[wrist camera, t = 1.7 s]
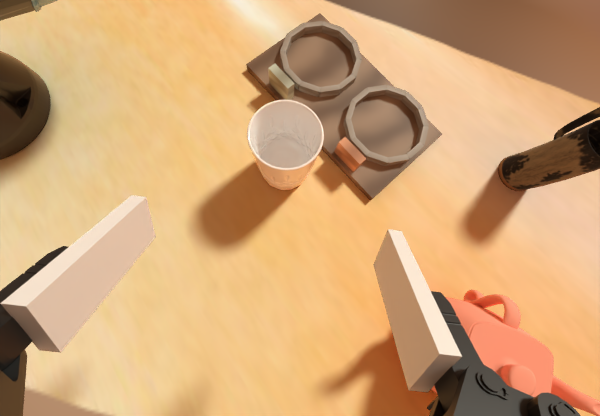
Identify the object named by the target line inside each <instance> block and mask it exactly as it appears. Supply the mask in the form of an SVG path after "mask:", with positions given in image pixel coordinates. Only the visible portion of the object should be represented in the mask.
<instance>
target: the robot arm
mask: <svg viewBox="0 0 600 416" xmlns="http://www.w3.org/2000/svg"><path fill="white" fill-rule="evenodd" d="M55 1H57V0H0V21H1V20H4V19H7V18H11V17H14V16H17V15H21V14H24V13H27V12H31V11H34V10H35V11H36V12H37V11H39V10H41V7H42V6H44V5H47V4H50V3H52V2H55ZM49 111H50V95H49V91H48V89H47V86H46V84H45V83H44V81H43V80H42V79H41V77H40V76H39V75H38V74H37V73H35V72H34V71H33V70H31V69H30V68H29V67H27V66H26V65H25V64H23V63H22V62H21V61H19V60H18V59H16V58H14V57H12V56H11V55H9V54H6V53H4V52H2V51H0V159H2V158H5V157H7V156H10V155H12V154H14V153H16V152H18V151H19V150H21V149H23V148H24V147H25V146H27V145H28V144H29V143H30V142H31V141H33V140H34V139H35V138H36V136H37V135H38V134H39V133H40V131H41V130H42V128H43V127H44V125H45V123H46V121H47V118H48V115H49ZM155 237H156V236H155V232H154V227H153V223H152V219H151V215H150V210H149V206H148V202H147V198H146V197H142V196H134V195H131V196H130V197H129V198H128V199H126V200H125V201H124V202H123V203H122V204H120V205H119V206H118V207H117V208H116V209H114V210H113V211H112V212H111V213H109V214H108V215H107V216H106V217H105V218H103V219H102V220H101V221H100V222H99V223H97V224H96V225H95V226H94V227H92V228H91V229H90V230H89V231H88V232H86V233H85V234H84V235H83V236H82V237H80V238H79V239H78V240H77V241H75V242H74V243H73V244H72V245H71V246H69V247H66V246H63V247H60V248H58V249H56V250H54V251H52V252H50V253H48V254H47V255H46V256H44V257H43V258H42V259H41V260H39V261H38V262H37V263H35V266H32V267H30V268H29V269H28V270H27V271H25V274H21V275H20V276H19V277H18V278H16V279H15V280H14V281H12V282H11V283H10V284H9V285H7V286H6V287H5V288H4V289H2V290H1V291H0V416H23V404H24V391H25V377H26V364H27V354H26V351H25V348H26V347H27V346H28V345H29V344H30V343H31V342H33V343H34V344H35V345H36V347H37V348H38V349H39V350H43V351H52V352H62V351H63V349H64V348H65V347H66V346H67V344H68V343H69V342H70V341H71V340H72V338H73V337H74V336H75V335H76V333H77V332H78V331H79V330H80V329H81V327H82V326H83V325H84V324H85V322H86V321H87V320H88V319H89V318H90V316H91V315H92V314H93V313H94V312H95V310H96V309H97V308H98V307H99V305H100V304H101V303H102V302H103V301H104V299H105V298H106V297H107V296H108V294H109V293H110V292H111V291H112V290H113V288H114V287H115V286H116V285H117V284H118V282H119V281H120V280H121V279H122V277H123V276H124V275H125V274H126V273H127V271H128V270H129V269H130V268H131V266H132V265H133V264H134V263H135V262H136V260H137V259H138V258H139V257H140V256H141V254H142V253H143V252H144V251H145V249H146V248H147V247H148V246H149V245H150V243H151V242H152V241H153V240H154V238H155ZM373 265H374V269H375V272H376V276H377V279H378V283H379V287H380V290H381V294H382V297H383V301H384V304H385V308H386V312H387V315H388V319H389V322H390V326H391V329H392V333H393V337H394V340H395V344H396V347H397V351H398V355H399V358H400V362H401V365H402V369H403V372H404V376H405V380H406V383H407V387H408V390H410V391H419V392H429V391H430V390H431V389H432V387H433V386H435V388H436V391H437V394H438V397H437V398H436V399H434V400H433V401H432V402H431V403H430V404H429V406H428V407H427V409H428V410H431V409H432V410H431V412H430V415H429V416H580V414H579V413H578V412H577V411H576V410H575V409H574V408H573V407H572V406H571V405H570V404H568V403H567V402H566V401H564V400H563V399H561V398H560V397H558V396H556V395H554V394H551V393H548V392H547V393H540V394H539V395H537V396H536V397H533V396H530V395H528V394H526V393H523V392H521V391H519V390H517V389H514V388H512V387H510V386H508V385H507V384H506V383H505V382H504V381H503V379H502V378H501V377H500V376H499V375H498V374H497V373H496V372H495V371H493V370H492V369H491V368H489V367H487V366H485V365H484V364H483V363H482V361H481V359H480V357H479V355H478V354H477V352H476V350H475V348H474V346H473V344H472V342H471V341H470V339H469V337H468V335H467V333H466V331H465V329H464V328H463V326H461V322H460V320H459V318H458V316H456V313H455V311H454V309H453V307H452V305H451V303H450V302H449V301H448V300H447V299H446V298H445V297H444V296H443V295H442V293H441V292H433V291H430V289H429V287H428V285H427V283H426V281H425V279H424V277H423V274H422V272H421V270H420V268H419V266H418V264H417V262H416V260H415V258H414V256H413V254H412V252H411V250H410V248H409V245H408V243H407V241H406V239H405V237H404V235H403V233H402V231H397V230H389V229H388V231H387V233H386V235H385V238H384V240H383V243H382V245H381V248H380V250H379V252H378V255H377V257H376V260H375V262H374V264H373Z"/></svg>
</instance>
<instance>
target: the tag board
mask: <svg viewBox="0 0 600 416" xmlns="http://www.w3.org/2000/svg"><path fill="white" fill-rule="evenodd" d="M246 65H247V69H248V71H249V72H250V73H251V74H252V75H253V76H254V77H255V78H256V79H257V80H258V81H259V82H260V83H261V84H262V85H263V87H264V88H265V89H266V90H267V91H268V92H269V93H270V94H271V95H272V96H273V97H274V98H275V99H276V100H293V101H297V102H299V103H302V104H304V105H306V106H307V107H309V108H310V109H311V110H312V111H313V112H314V113H315V114H316V115H317V116H318V118H319V120H320V122H321V124H322V127H323V132H324V140H323V145H322V149H323V150H324V151H325V153H326V154H327V155H328V156H329V157H330V158H331V159H332V160H333V161H334V162H335V163H336V164H337V165H338V166H339V167H340V169H341V170H342V171H343V172H344V173H345V174H346V175H347V176H348V177H349V178H350V179H351V180H352V181H353V182H354V183H355V184H356V186H357V187H358V188H359V189H360V190H361V191H362V192H363V193H364V194H365V195H366V196H367V197H368V198H369V199H370V200H371V199H373V198H374V197H375V196H376V195H377V194H378V193H379V192H380V191H381V190H382V189H383V188H385V187H386V186H387V185H388V184H389V183H390V182H391V181H392V180H393V179H394V178H395V177H396V176H398V175H399V174H400V173H401V172H402V171H403V170H404V169H405V168H406V167H407V166H408V165H409V164H410V163H412V162H413V161H414V160H415V159H416V158H417V157H418V156H419V155H420V154H421V153H422V152H423V151H425V150H426V149H427V148H428V147H429V146H430V145H431V144H432V143H433V142H434V141H435V140H436V139H438V138H439V137H440V136H441V135H442V133H441V132H440V131H439V130H438V129H437V128H436V127H435V126H434V125H433V124H432V123H431V122H430V121H429V120H427V118H426V115H425V112H424V109H423V107H422V105H421V104H420V103H419V102H418V101H417V100H416V99H415V98H414V97H413V96H412V95H410V94H409V93H408V92H407V91H405V90H402V89H399V88H396V87H394V86H393V85H392V84H391V83H390V82H389V81H388V80H387V79H386V78H385V77H384V76H383V75H382V74H381V73H380V72H379V71H378V70H377V69H376V68H375V67H374V66H373V65H372V64H371V63H370V62H369V61H368V60H367V59H366V58H365V57H364V56H363V55H362V54H361V53H360V51H359V47H358V44H357V42H356V40H355V39H354V38H353V37H352V36H351V35H350V34H349V33H348V32H347V31H346V30H345V29H344V28H342V27H340V26H337V25H334V24H331V23H330V22H329V21H328V20H327V19H325V18H324V17H323V16H322V15H321V14H318V15H317V16H315V17H314V18H312V19H311V20H310V21H308V22H307V23H303V24H301V25H299V26H298V27H296V28H295V29H293V30H292V31H290V32H289V33H288V34H287V35H286V37H285V38H284V39H282V40H281V41H279V42H278V43H276V44H275V45H274V46H272V47H271V48H269V49H268V50H266V51H265V52H264V53H262V54H261V55H259V56H258V57H256V58H255V59H253V60H252V61H251V62H249V63H248V64H246Z"/></svg>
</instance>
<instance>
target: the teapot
mask: <svg viewBox="0 0 600 416" xmlns="http://www.w3.org/2000/svg"><path fill="white" fill-rule="evenodd" d="M445 298H446V299H447V300H448V301H449V302H450V303H451V305H452V307H453V309H454V311H455V313H456V316H458V318H459V320H460V322H461V326H463V328H464V329H465V331H466V333H467V335H468V337H469V339H470V341H471V342H472V344H473V346H474V348H475V350H476V352H477V354H478V355H479V357H480V359H481V361H482V363H483V364H484V365H485V366H487V367H489V368H491V369H492V370H493V371H495V372H496V373H497V374H498V375H499V376H500V377H501V378H502V379H503V381H504V382H505V383H506V384H507V385H508V386H510V387H512V388H514V389H517V390H519V391H521V392H523V393H526V394H528V395H530V396H533V397H536V396H537V395H539V394H540V393H547V392H548V393H551V394H554V395H556V396H558V397H560V398H561V399H563V400H564V401H566V402H567V403H568V404H570V405H571V406H572V407H575V408H578V409H581V410H584V411H586V412H589V413H591V414H594V415H596V416H600V401H599V400H596V399H594V398H592V397H590V396H587V395H585V394H583V393H582V392H580V391H578V390H576V389H574V388H573V387H571V386H569V385H568V384H566V383H564V382H563V381H561V380H560V379H558V378H557V377H555V376H554V375H553V365H554V361H553V355H552V353H551V351H550V350H549V349H548V348H547V347H546V346H545V345H544V344H542V343H541V342H540V341H538V340H537V339H536V338H534V337H533V336H531V335H530V334H528V333H527V332H525V331H524V330H522V329H521V328H519V324H520V320H521V315H520V311H519V308H518V306H517V304H516V303H515V302H514V301H513V300H511V299H510V298H508V297H506V296H503V295H497V294H495V295H488V296H485V297H484V296H483V294H482V293H480V292H479V291H477V290H469V291H468V292H467V293H466V294H465V296H464V301H462V300H458V299H453V298H447V297H445ZM497 304H503V305H504V309H505V313H504V318H503V317H501V316H499V315H497V314H495V313H493V312H491V311H489V310H487V309H485V308H486V307H489V306H493V305H497ZM431 390H433V391H434V392H436V393H437V391H436V388H435V386H433V387H432V389H431Z"/></svg>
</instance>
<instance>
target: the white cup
mask: <svg viewBox="0 0 600 416" xmlns="http://www.w3.org/2000/svg"><path fill="white" fill-rule="evenodd" d="M247 138H248V143H249V146H250V149H251V151H252V153H253V156H254V159H255V161H256V164H257V166H258V168H259V170H260V172H261V173H262V175H263V178H264V179H265V180H266V181H267V182H268V183H269V185H270V186H273V187H275V188H277V189H280V190H291V189H293V188H295V187H297V186H299V185H301V184H302V182H303V181H304V180H305V178H306V177H307V175H308V174H309V172H310V170H311V169H312V167H313V165H314V163H315V161H316V159H317V156H318V154H319V152H320V150H321V148H322V145H323V140H324V132H323V127H322V124H321V122H320V120H319V118H318V116H317V115H316V114H315V113H314V112H313V111H312V110H311V109H310V108H309V107H307V106H306V105H304V104H302V103H299V102H297V101H293V100H277V101H273V102H270V103H267V104H265V105H264V106H262V107H261V108H260V109H258V110H257V111H256V113H255V114H254V115H253V117H252V118H251V120H250V122H249V126H248V131H247Z"/></svg>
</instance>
